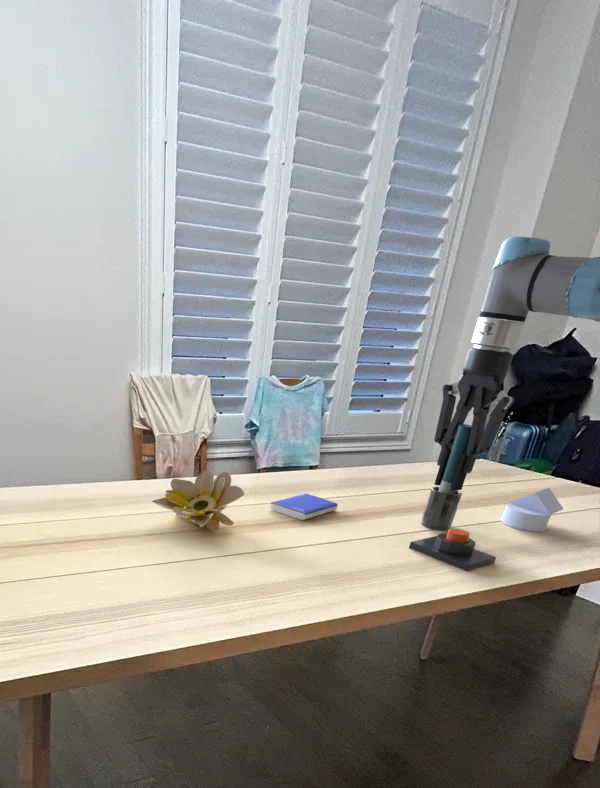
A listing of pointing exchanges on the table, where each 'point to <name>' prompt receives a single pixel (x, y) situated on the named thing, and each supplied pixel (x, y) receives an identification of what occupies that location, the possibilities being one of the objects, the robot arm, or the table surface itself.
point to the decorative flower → (202, 499)
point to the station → (453, 552)
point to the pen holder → (440, 509)
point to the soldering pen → (455, 457)
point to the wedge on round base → (531, 511)
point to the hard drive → (303, 506)
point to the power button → (457, 536)
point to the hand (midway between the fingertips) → (447, 486)
